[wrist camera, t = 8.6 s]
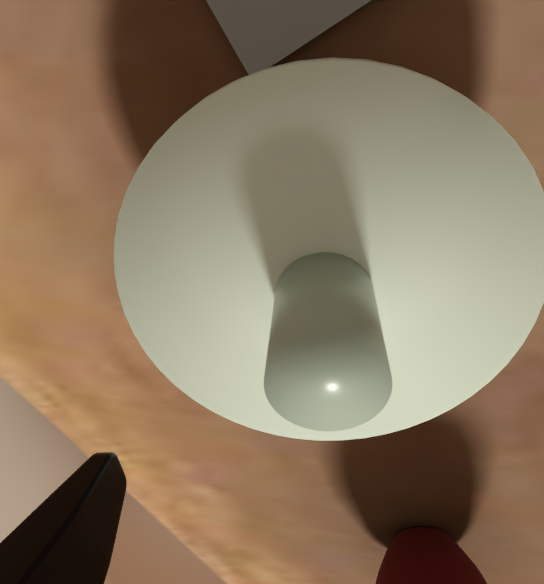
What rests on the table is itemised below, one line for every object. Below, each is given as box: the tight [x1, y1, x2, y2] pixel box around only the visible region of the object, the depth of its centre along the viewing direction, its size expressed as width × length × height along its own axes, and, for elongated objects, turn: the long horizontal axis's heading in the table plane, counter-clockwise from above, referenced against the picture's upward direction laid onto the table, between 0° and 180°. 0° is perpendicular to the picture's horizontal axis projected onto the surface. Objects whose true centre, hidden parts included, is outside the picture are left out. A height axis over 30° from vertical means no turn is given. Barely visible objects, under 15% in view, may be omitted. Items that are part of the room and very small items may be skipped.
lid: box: [114, 57, 544, 441], centre depth 13 cm, size 13×13×5 cm
